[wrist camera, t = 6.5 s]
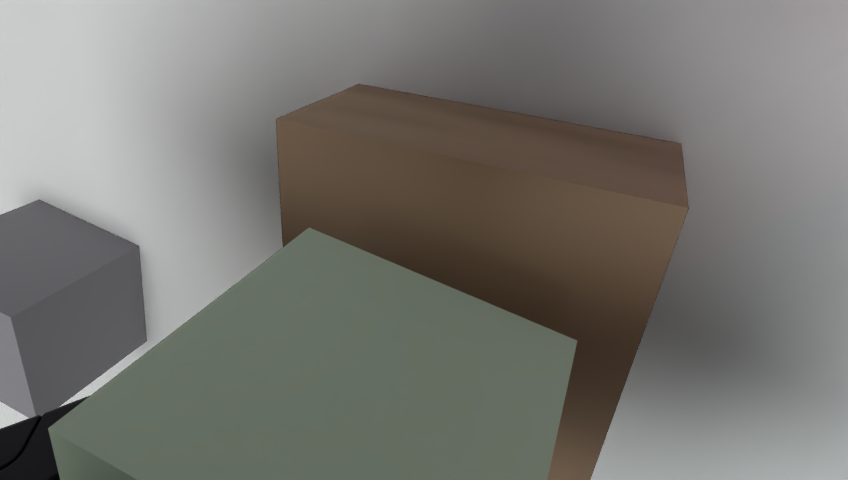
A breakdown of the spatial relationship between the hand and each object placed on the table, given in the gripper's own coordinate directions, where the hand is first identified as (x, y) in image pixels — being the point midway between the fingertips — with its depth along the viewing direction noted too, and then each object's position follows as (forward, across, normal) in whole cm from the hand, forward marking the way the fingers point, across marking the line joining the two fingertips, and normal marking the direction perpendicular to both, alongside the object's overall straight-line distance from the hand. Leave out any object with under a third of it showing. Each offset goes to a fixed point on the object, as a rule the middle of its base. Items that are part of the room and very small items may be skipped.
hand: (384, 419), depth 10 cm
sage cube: (+1, 0, 0) cm, 1 cm away
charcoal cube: (+7, +15, +8) cm, 18 cm away
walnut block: (+7, 0, 0) cm, 7 cm away
